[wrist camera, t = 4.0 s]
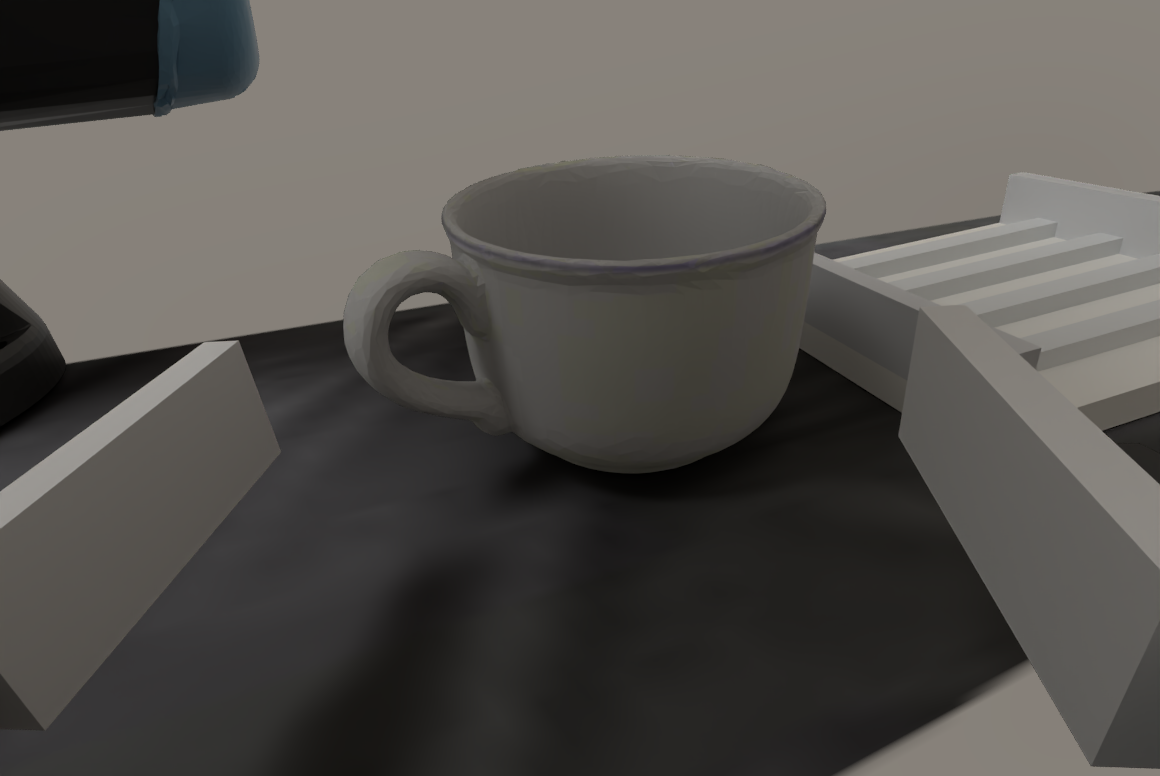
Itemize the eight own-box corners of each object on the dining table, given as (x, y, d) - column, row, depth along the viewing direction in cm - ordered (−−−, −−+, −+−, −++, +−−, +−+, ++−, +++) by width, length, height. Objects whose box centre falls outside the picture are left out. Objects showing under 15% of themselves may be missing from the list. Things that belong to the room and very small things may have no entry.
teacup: (692, 330, 29) (690, 136, 25) (883, 454, 20) (925, 182, 16) (369, 419, 25) (305, 204, 21) (425, 627, 16) (333, 315, 12)
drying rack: (988, 468, 19) (1017, 354, 17) (733, 306, 31) (735, 229, 29) (1362, 344, 23) (1416, 241, 21) (1006, 243, 34) (1022, 171, 33)
